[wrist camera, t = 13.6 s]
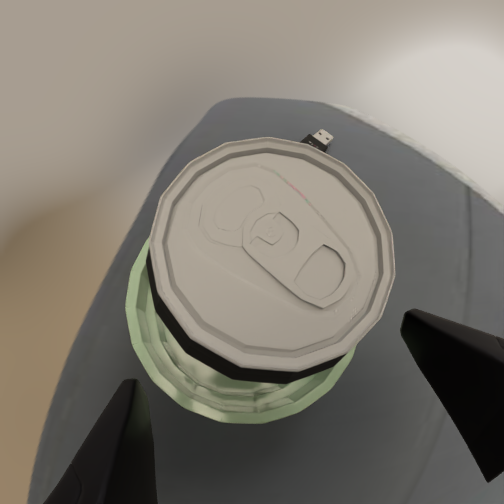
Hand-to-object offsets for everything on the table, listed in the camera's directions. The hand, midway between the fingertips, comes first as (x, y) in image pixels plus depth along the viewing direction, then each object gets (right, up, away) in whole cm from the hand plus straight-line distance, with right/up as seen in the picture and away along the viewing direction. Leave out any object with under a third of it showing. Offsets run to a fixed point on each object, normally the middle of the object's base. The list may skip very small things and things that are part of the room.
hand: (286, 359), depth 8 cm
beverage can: (-2, -1, +10) cm, 10 cm away
